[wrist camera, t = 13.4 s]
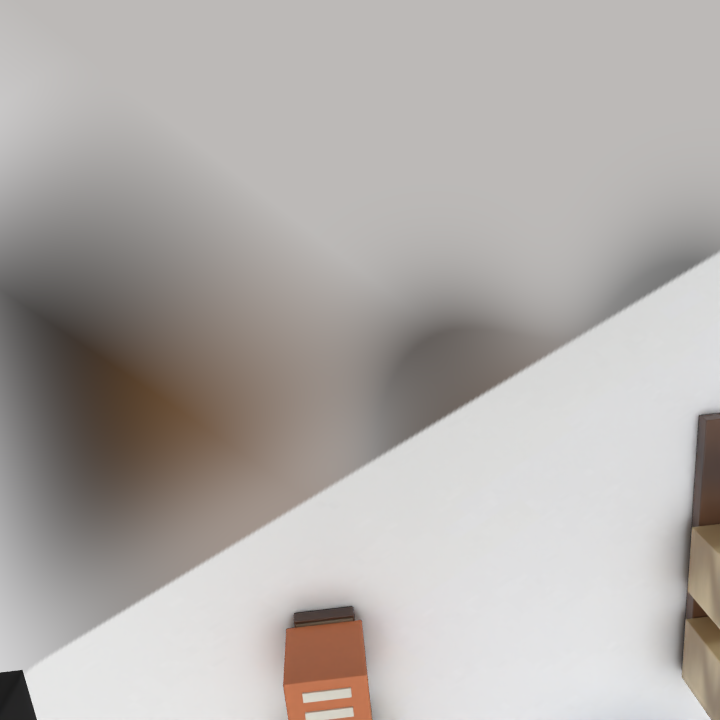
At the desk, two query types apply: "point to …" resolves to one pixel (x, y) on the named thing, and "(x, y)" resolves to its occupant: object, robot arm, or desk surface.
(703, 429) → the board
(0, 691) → the robot arm
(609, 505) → the desk surface
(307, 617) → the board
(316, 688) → the striped orange block
